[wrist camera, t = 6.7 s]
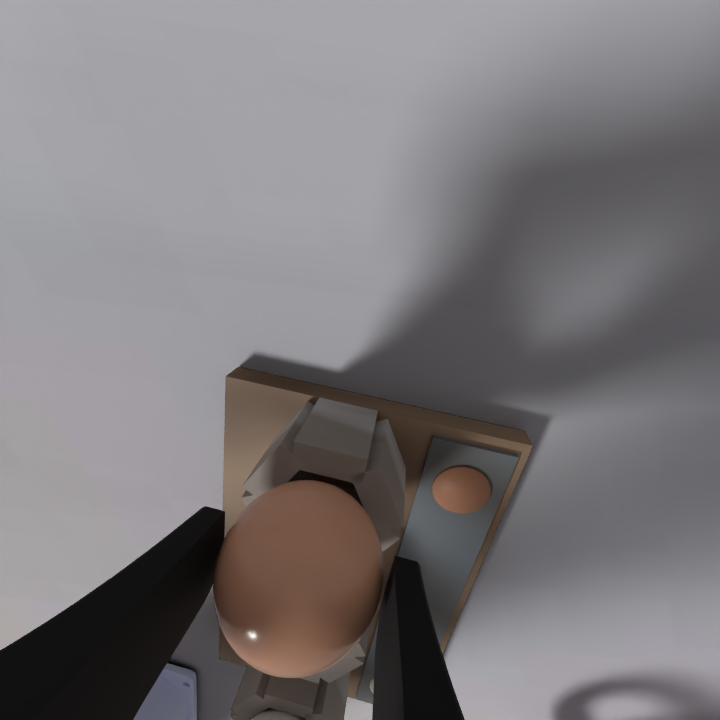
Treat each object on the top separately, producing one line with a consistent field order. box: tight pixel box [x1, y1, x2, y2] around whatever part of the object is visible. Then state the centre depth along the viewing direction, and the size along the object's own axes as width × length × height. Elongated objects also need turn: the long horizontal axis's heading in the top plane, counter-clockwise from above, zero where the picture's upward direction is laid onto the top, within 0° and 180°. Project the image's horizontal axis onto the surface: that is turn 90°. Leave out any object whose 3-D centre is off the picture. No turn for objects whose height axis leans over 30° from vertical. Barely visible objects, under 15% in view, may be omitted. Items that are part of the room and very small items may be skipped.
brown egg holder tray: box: [219, 367, 533, 720], centre depth 16 cm, size 19×12×4 cm, turn 170°
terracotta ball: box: [213, 480, 384, 678], centre depth 9 cm, size 4×4×4 cm
